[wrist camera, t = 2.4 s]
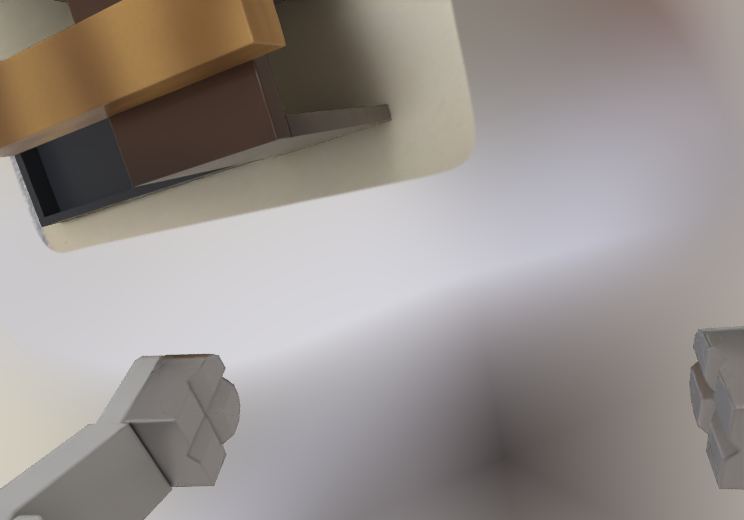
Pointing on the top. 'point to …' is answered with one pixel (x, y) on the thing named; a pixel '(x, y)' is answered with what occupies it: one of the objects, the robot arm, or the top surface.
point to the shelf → (219, 121)
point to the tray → (84, 175)
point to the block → (126, 63)
